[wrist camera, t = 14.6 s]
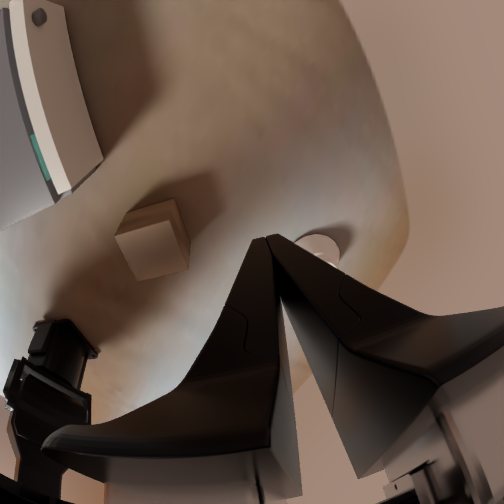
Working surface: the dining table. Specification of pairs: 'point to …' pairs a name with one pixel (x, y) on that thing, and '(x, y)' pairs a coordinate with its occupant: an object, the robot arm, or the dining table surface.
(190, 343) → the dining table surface
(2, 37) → the housing
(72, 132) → the white drawer
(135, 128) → the dining table surface
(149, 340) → the dining table surface
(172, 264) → the brown cube
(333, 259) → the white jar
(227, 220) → the dining table surface
